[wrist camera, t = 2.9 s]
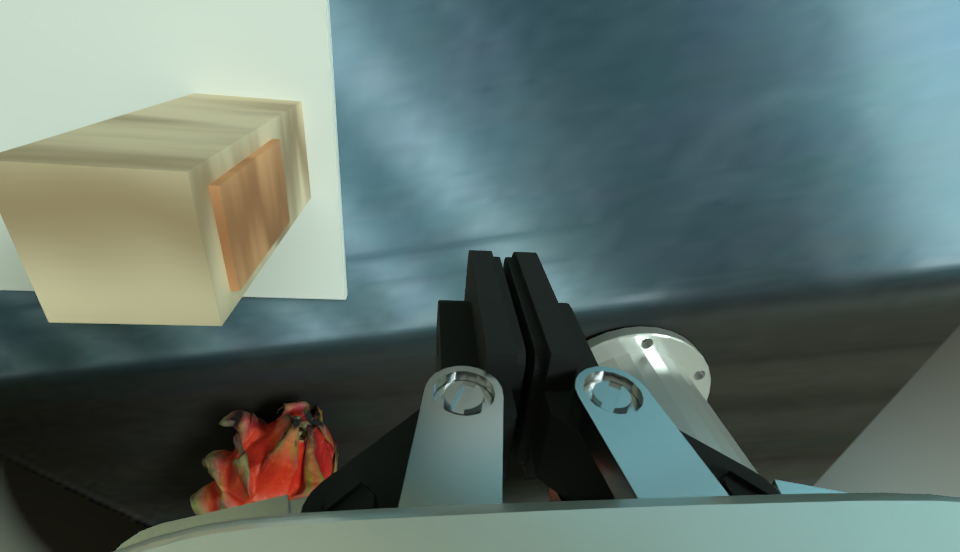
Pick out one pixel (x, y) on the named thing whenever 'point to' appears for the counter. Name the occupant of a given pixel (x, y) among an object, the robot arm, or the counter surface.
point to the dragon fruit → (268, 459)
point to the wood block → (157, 209)
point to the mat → (176, 73)
